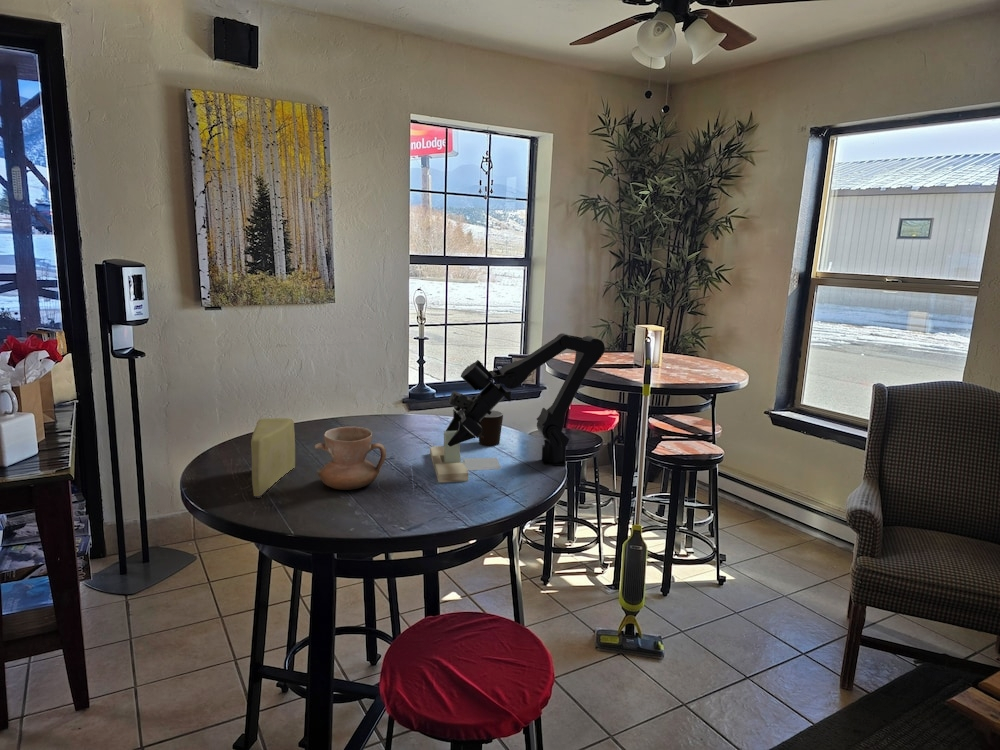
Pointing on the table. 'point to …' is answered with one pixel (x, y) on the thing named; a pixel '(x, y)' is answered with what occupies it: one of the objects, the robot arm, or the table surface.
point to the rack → (447, 467)
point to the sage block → (451, 449)
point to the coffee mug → (491, 429)
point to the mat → (482, 464)
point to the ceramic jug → (349, 458)
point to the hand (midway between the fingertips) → (446, 440)
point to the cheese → (271, 452)
